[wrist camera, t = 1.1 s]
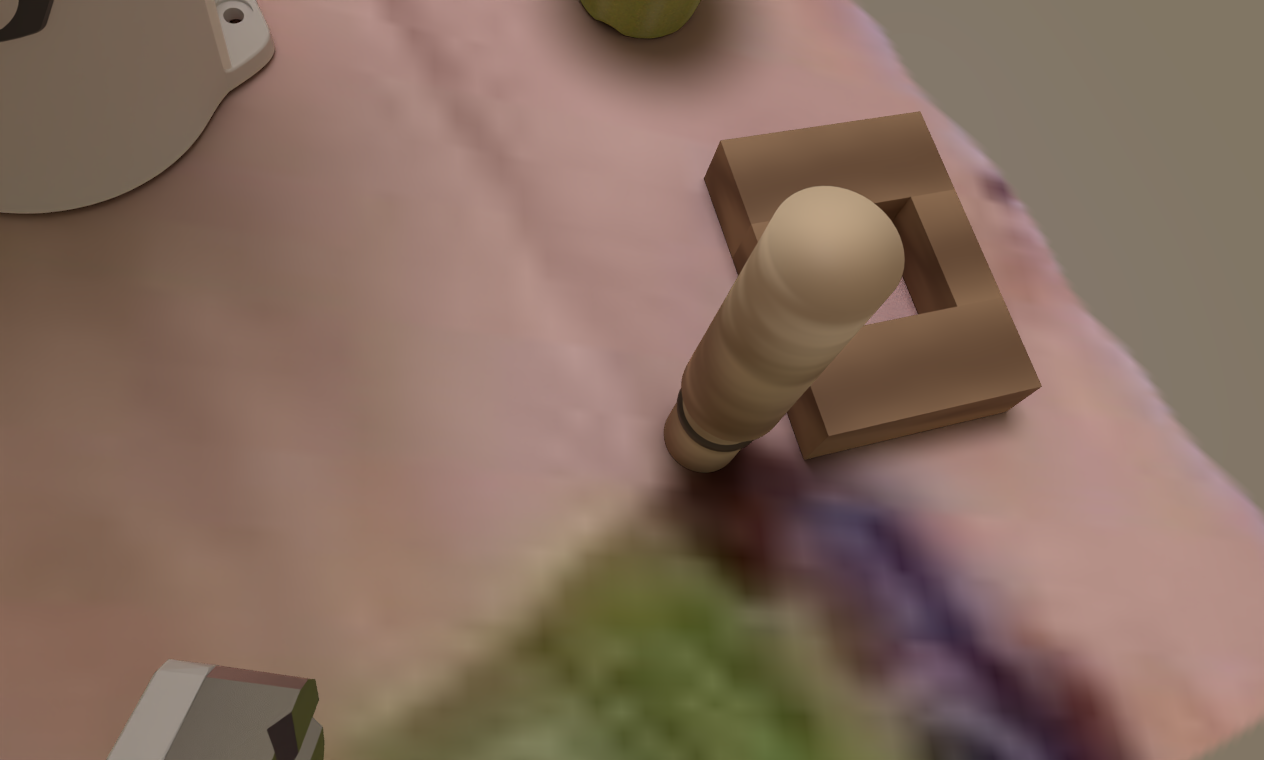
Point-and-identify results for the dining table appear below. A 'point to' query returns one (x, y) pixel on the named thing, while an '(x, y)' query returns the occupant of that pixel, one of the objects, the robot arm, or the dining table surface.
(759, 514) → the dining table surface
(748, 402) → the peg
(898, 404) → the brown wooden frame
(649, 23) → the plant pot
